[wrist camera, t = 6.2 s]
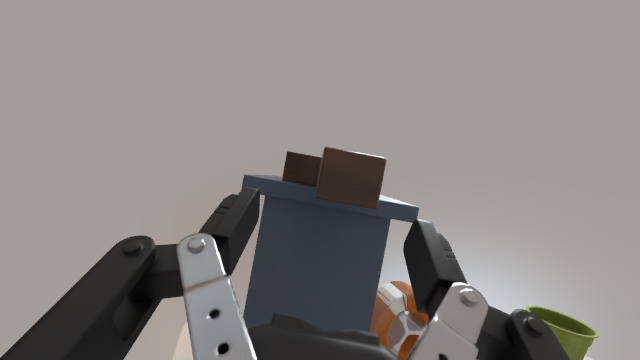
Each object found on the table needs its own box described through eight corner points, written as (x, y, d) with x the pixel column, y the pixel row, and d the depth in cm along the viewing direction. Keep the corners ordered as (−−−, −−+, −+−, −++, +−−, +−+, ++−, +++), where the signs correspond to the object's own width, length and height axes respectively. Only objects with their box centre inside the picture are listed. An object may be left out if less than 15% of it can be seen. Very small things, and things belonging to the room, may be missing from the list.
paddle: (449, 223, 12) (461, 161, 12) (241, 185, 12) (252, 121, 12) (360, 191, 36) (364, 170, 36) (291, 178, 36) (295, 158, 36)
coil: (352, 349, 51) (365, 277, 51) (415, 348, 55) (427, 281, 55) (367, 377, 44) (382, 294, 44) (437, 374, 48) (452, 298, 48)
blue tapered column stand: (353, 552, 23) (419, 207, 22) (182, 517, 23) (243, 174, 23) (342, 410, 37) (383, 195, 36) (235, 389, 37) (274, 175, 37)
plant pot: (527, 345, 65) (536, 302, 65) (594, 381, 55) (604, 330, 55) (509, 356, 58) (518, 309, 58) (581, 399, 48) (592, 342, 48)
